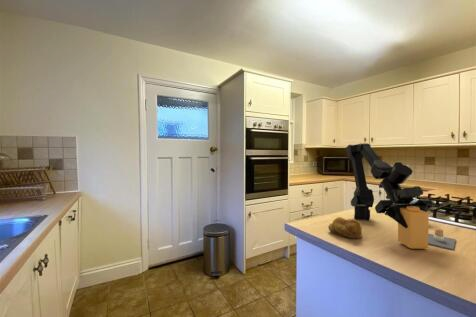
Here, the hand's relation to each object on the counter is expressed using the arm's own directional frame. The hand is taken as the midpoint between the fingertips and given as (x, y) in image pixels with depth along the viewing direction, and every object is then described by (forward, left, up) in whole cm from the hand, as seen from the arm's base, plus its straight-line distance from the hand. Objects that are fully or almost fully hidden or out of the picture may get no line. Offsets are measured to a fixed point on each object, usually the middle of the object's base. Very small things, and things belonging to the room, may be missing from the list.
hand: (415, 227), depth 75 cm
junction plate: (+9, +10, -7) cm, 16 cm away
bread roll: (-22, +4, -8) cm, 24 cm away
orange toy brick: (-1, +1, -7) cm, 7 cm away
